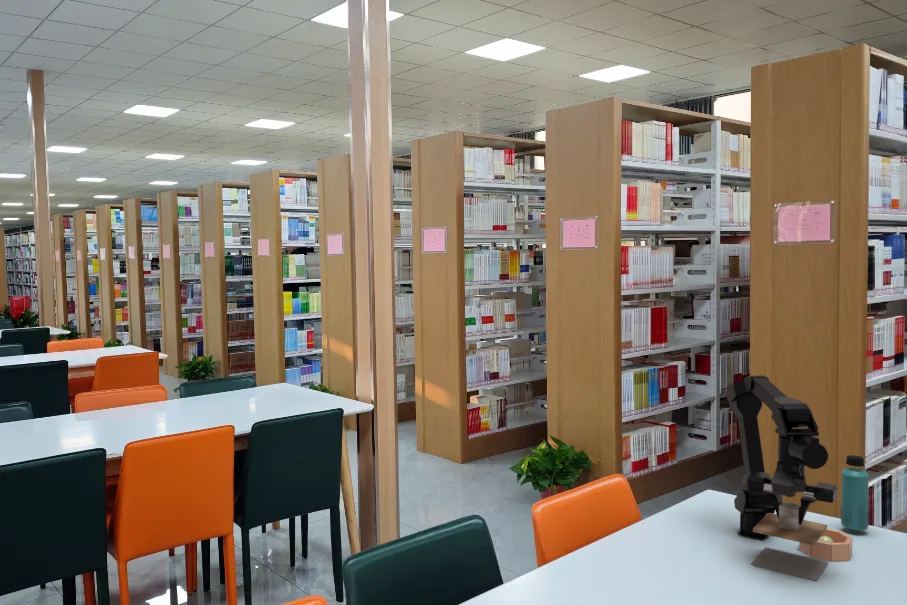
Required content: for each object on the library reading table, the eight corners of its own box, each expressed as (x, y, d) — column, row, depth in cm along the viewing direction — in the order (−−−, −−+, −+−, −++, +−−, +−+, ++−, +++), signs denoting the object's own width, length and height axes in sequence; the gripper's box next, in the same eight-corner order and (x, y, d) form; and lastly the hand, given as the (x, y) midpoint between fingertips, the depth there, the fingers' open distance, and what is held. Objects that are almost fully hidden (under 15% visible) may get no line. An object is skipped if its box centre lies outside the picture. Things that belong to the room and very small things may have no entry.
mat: (750, 564, 165) (750, 563, 165) (765, 548, 175) (765, 547, 175) (816, 581, 157) (816, 579, 157) (828, 563, 166) (828, 561, 166)
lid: (752, 531, 164) (753, 507, 164) (768, 515, 174) (769, 492, 174) (814, 545, 156) (814, 519, 156) (827, 528, 166) (827, 503, 166)
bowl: (796, 553, 172) (796, 537, 172) (806, 539, 180) (806, 524, 180) (846, 564, 165) (846, 548, 165) (854, 550, 173) (855, 534, 173)
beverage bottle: (872, 537, 182) (874, 460, 181) (844, 535, 183) (846, 459, 182) (863, 527, 188) (864, 453, 187) (836, 526, 189) (837, 452, 188)
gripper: (739, 457, 164) (738, 523, 165) (828, 471, 152) (826, 542, 153) (753, 447, 173) (752, 510, 174) (839, 460, 161) (837, 527, 162)
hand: (790, 522), depth 165 cm, fingers closed on lid, 4 cm apart
